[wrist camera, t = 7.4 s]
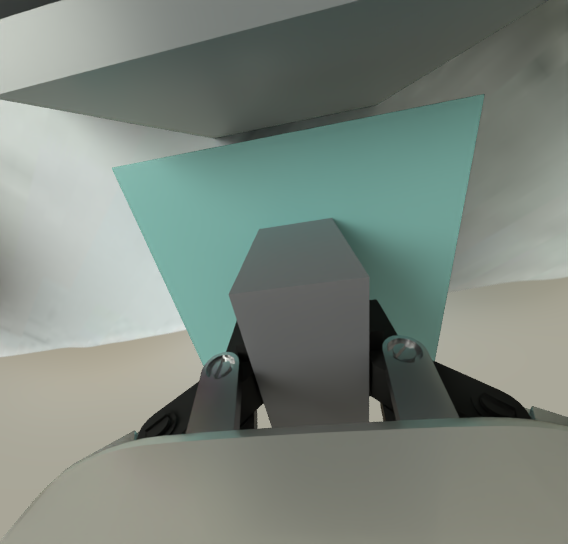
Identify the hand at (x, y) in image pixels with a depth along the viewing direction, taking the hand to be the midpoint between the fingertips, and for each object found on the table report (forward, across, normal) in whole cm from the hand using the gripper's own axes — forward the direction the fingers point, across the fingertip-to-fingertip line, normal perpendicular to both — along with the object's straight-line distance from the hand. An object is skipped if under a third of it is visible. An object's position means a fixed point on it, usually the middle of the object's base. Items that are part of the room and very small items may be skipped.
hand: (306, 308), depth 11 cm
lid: (+3, 0, 0) cm, 3 cm away
